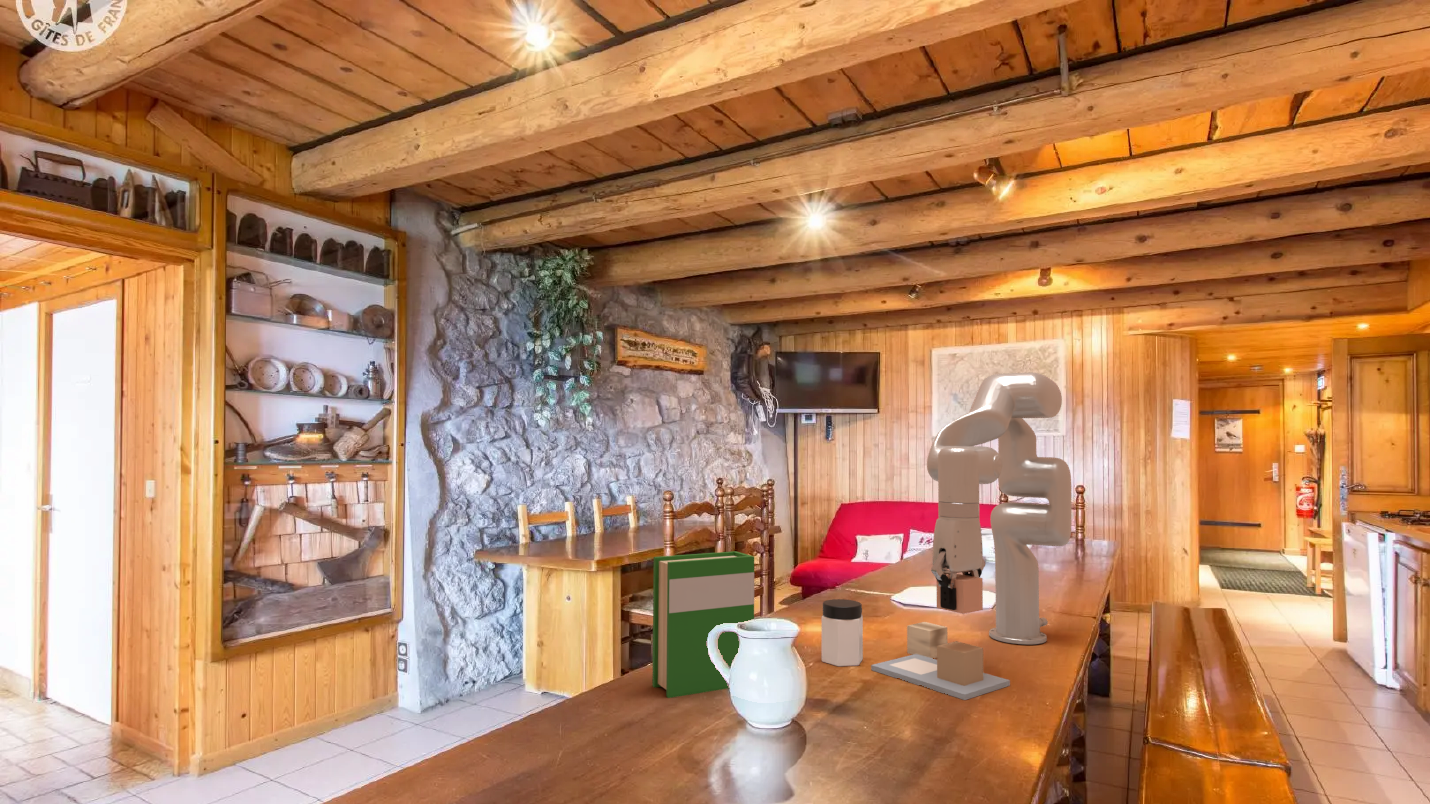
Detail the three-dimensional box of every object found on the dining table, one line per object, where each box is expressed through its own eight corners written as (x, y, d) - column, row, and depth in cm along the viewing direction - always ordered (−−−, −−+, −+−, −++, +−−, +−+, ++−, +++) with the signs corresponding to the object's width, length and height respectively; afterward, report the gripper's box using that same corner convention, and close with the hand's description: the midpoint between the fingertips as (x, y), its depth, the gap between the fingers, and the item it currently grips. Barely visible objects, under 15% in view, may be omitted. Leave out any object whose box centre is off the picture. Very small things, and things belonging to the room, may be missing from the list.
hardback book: (668, 698, 138) (669, 562, 139) (652, 686, 145) (653, 557, 146) (753, 684, 146) (754, 556, 147) (735, 673, 153) (735, 551, 154)
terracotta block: (955, 604, 151) (955, 573, 152) (982, 609, 147) (982, 578, 147) (936, 608, 148) (936, 576, 148) (963, 613, 143) (963, 581, 143)
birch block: (924, 649, 172) (924, 621, 172) (947, 655, 167) (947, 627, 167) (907, 653, 168) (907, 625, 168) (930, 659, 163) (929, 631, 164)
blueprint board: (916, 658, 164) (916, 625, 164) (1009, 685, 146) (1009, 648, 146) (871, 670, 155) (871, 634, 156) (964, 700, 138) (964, 660, 138)
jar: (871, 662, 161) (871, 604, 162) (845, 669, 156) (845, 609, 156) (839, 652, 168) (839, 597, 168) (813, 659, 163) (813, 601, 163)
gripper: (969, 508, 156) (969, 598, 155) (913, 512, 146) (914, 608, 145) (1002, 511, 150) (1003, 604, 149) (947, 515, 140) (947, 615, 139)
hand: (959, 605), depth 147 cm, fingers closed on terracotta block, 6 cm apart
